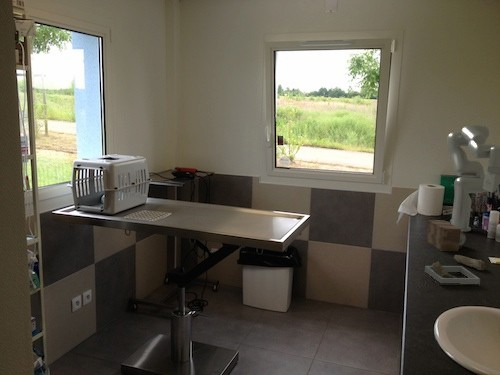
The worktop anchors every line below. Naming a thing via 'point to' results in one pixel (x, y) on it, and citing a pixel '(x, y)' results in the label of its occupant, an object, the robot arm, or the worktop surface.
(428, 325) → the worktop surface
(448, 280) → the frame
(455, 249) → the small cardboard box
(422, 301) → the worktop surface
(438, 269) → the vertebra
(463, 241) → the tin
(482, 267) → the bone fragment
